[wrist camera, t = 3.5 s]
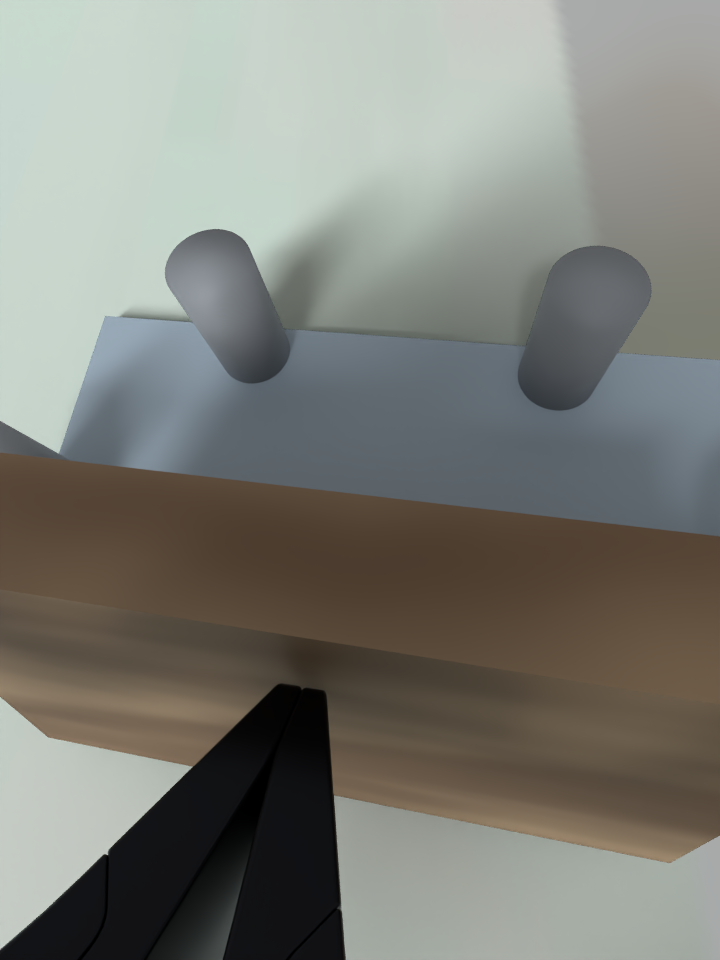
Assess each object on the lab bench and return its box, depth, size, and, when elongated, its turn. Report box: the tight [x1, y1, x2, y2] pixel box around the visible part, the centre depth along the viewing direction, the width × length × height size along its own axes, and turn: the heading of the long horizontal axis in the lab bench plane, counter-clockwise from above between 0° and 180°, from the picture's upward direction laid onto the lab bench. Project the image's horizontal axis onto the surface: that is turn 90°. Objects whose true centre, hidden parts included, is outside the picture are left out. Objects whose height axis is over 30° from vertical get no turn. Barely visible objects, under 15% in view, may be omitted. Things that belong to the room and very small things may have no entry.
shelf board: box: [0, 453, 720, 863], centre depth 12 cm, size 3×16×8 cm, turn 82°
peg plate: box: [0, 229, 720, 536], centre depth 15 cm, size 10×23×5 cm, turn 81°
